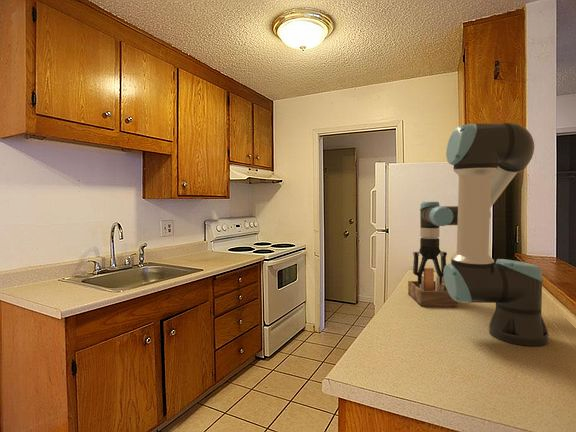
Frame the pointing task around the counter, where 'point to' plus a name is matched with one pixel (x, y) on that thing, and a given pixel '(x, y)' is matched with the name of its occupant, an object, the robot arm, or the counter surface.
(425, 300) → the crate
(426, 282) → the peg
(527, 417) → the counter surface
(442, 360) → the counter surface
